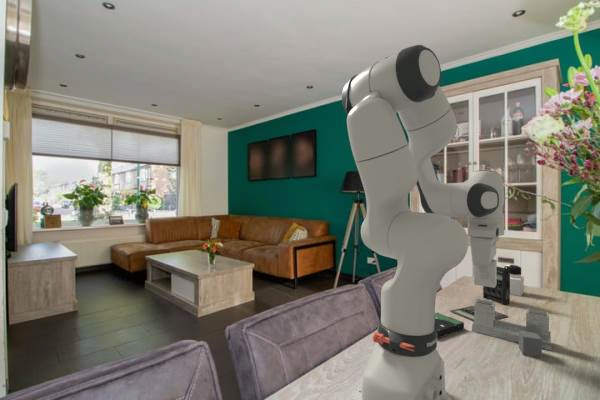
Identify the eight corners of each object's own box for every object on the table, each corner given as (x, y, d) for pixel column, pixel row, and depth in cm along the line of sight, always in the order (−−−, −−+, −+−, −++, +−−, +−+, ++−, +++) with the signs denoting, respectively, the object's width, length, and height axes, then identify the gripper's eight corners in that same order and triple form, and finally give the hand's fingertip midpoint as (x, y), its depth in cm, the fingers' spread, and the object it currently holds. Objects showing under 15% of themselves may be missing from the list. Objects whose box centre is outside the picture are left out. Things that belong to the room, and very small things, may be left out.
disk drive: (433, 342, 88) (464, 330, 95) (434, 332, 88) (464, 321, 95) (406, 328, 97) (436, 318, 104) (406, 319, 97) (436, 310, 104)
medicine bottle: (523, 292, 131) (524, 265, 131) (521, 296, 126) (521, 268, 126) (504, 289, 136) (504, 263, 136) (501, 292, 131) (501, 265, 131)
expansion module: (495, 287, 82) (495, 261, 82) (474, 284, 85) (474, 259, 85) (496, 284, 85) (496, 259, 85) (476, 281, 88) (476, 257, 88)
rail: (550, 350, 82) (551, 317, 82) (472, 331, 94) (472, 302, 94) (550, 342, 87) (550, 310, 86) (475, 324, 98) (475, 297, 98)
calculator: (508, 315, 105) (479, 322, 99) (508, 318, 105) (479, 325, 99) (477, 304, 116) (449, 310, 110) (477, 306, 116) (449, 312, 110)
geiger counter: (478, 297, 125) (479, 261, 125) (486, 296, 127) (486, 260, 127) (503, 305, 115) (504, 267, 115) (511, 304, 117) (512, 266, 117)
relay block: (541, 358, 78) (541, 339, 78) (523, 355, 80) (523, 336, 80) (536, 351, 82) (536, 333, 82) (518, 348, 83) (519, 330, 83)
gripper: (478, 224, 95) (478, 267, 95) (466, 230, 79) (466, 282, 79) (502, 225, 91) (501, 270, 91) (494, 232, 75) (494, 287, 75)
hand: (485, 276), depth 85 cm, fingers closed on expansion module, 4 cm apart
